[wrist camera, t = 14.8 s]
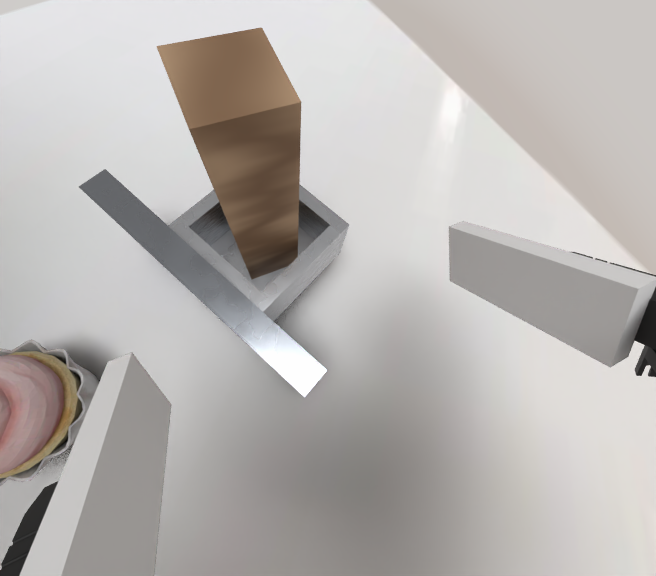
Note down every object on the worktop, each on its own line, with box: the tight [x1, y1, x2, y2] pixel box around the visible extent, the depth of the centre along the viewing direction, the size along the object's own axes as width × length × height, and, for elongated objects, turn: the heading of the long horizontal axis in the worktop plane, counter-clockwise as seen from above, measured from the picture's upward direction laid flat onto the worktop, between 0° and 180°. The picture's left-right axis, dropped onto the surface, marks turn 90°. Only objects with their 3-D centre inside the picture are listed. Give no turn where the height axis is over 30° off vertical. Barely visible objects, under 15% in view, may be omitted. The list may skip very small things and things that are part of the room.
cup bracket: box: [79, 169, 349, 397], centre depth 25 cm, size 20×11×10 cm, turn 49°
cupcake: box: [0, 340, 99, 486], centre depth 20 cm, size 9×9×10 cm
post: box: [157, 28, 301, 279], centre depth 18 cm, size 4×4×15 cm
